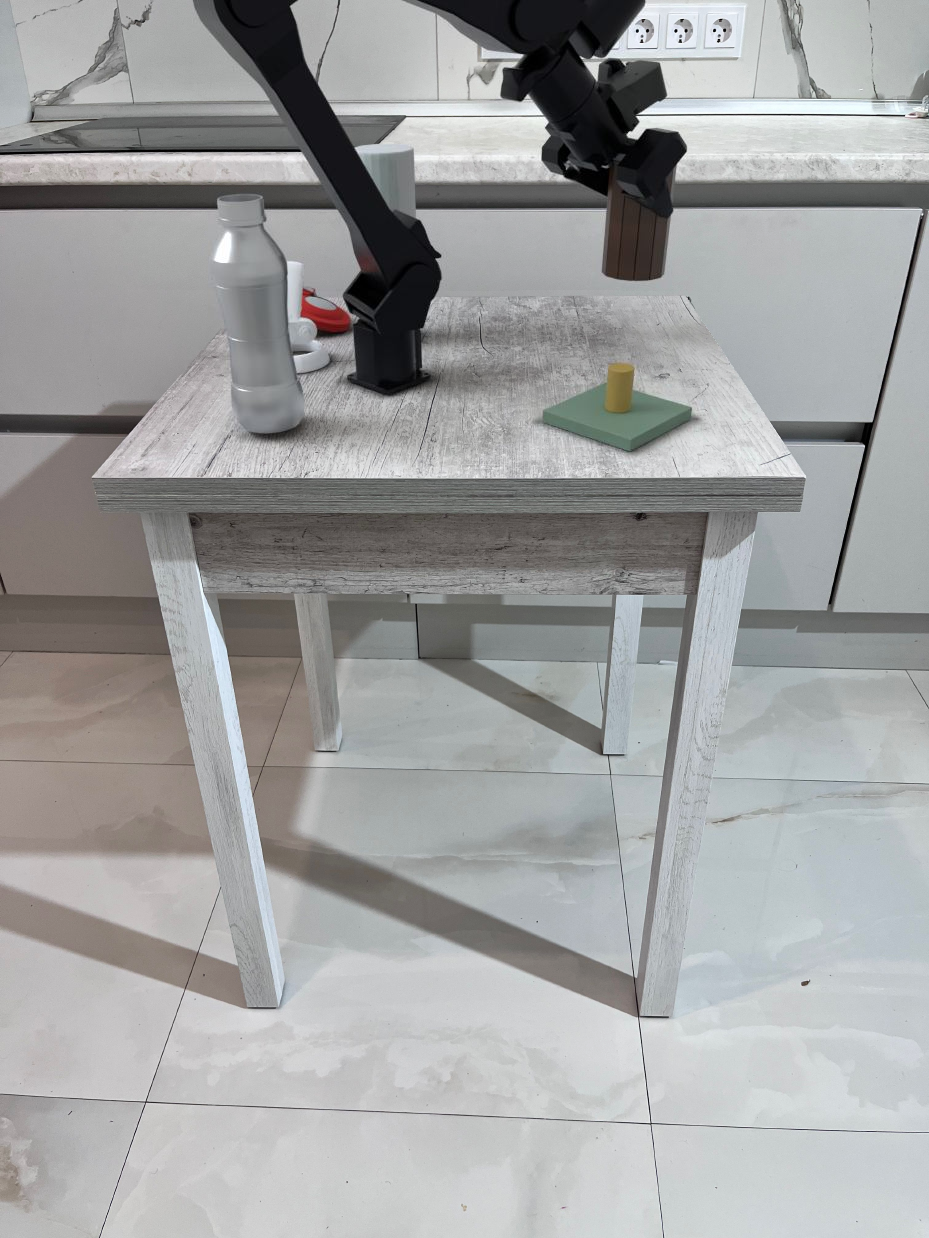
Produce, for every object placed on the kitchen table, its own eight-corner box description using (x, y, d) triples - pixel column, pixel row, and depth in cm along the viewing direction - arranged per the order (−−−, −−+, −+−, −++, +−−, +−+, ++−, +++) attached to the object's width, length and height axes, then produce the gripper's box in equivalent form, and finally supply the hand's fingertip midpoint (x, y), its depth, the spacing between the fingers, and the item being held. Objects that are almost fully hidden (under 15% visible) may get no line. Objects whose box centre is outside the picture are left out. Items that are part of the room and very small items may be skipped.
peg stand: (630, 451, 82) (635, 395, 79) (542, 422, 88) (544, 368, 85) (690, 419, 88) (698, 365, 85) (605, 393, 94) (609, 342, 91)
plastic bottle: (312, 436, 86) (287, 202, 74) (238, 446, 84) (200, 208, 73) (302, 411, 91) (277, 188, 79) (232, 419, 89) (195, 193, 78)
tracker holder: (369, 317, 112) (301, 314, 105) (359, 351, 114) (293, 351, 107) (312, 274, 118) (244, 269, 111) (304, 308, 120) (237, 305, 113)
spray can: (354, 340, 109) (339, 150, 97) (388, 325, 113) (377, 142, 102) (398, 350, 106) (388, 154, 94) (431, 334, 110) (426, 146, 99)
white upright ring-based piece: (329, 290, 107) (338, 267, 100) (323, 393, 107) (332, 377, 100) (263, 279, 105) (267, 255, 98) (256, 385, 104) (260, 367, 98)
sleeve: (633, 284, 101) (645, 162, 94) (589, 272, 105) (598, 154, 99) (676, 274, 104) (690, 156, 98) (631, 262, 109) (642, 148, 102)
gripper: (684, 32, 83) (757, 159, 94) (571, 25, 97) (646, 137, 107) (603, 136, 85) (684, 250, 95) (503, 115, 99) (583, 216, 109)
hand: (649, 209), depth 102 cm, fingers closed on sleeve, 7 cm apart
